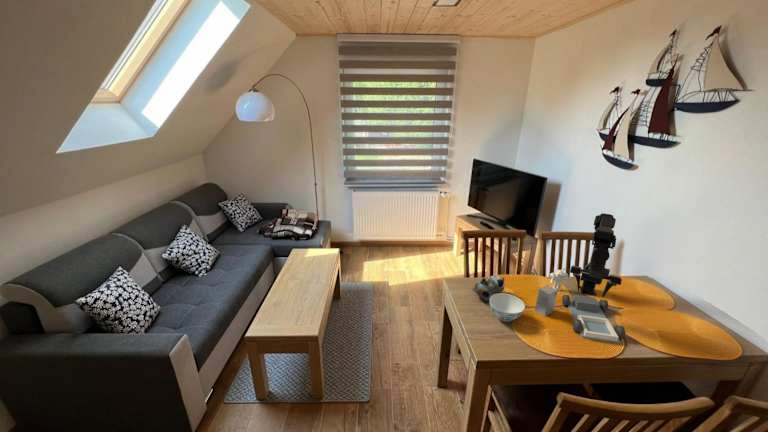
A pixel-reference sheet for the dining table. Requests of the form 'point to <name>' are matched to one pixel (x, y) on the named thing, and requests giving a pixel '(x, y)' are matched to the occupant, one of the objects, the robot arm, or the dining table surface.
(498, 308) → the chinaware
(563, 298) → the chassis
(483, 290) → the grey lumpy piece
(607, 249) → the robot arm
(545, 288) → the grey plastic box
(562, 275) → the hat wearing toy figure
